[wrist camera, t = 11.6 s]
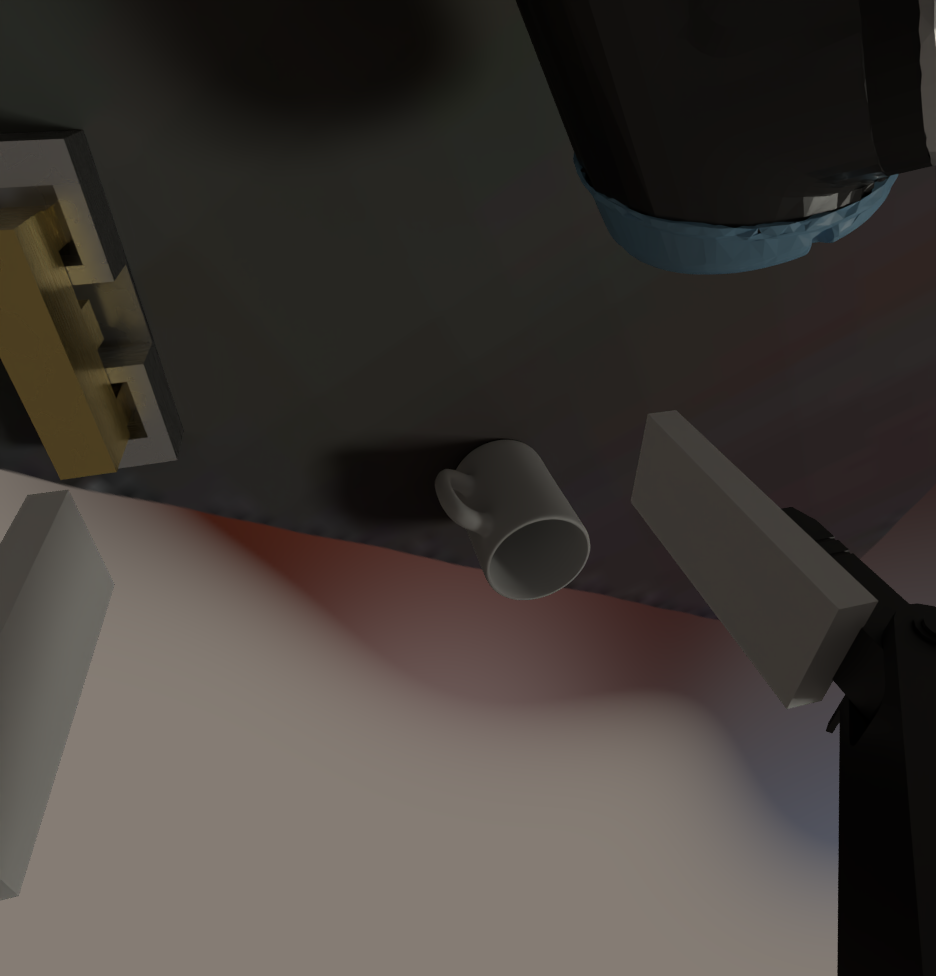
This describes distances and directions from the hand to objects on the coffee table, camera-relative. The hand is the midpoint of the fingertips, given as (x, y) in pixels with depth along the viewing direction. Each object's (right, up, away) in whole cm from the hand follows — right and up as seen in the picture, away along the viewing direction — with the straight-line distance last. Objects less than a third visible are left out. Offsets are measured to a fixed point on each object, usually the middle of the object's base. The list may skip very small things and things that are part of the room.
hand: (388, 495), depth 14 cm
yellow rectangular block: (-22, +10, +23) cm, 33 cm away
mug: (+3, +2, +39) cm, 39 cm away
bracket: (-22, +12, +24) cm, 35 cm away
